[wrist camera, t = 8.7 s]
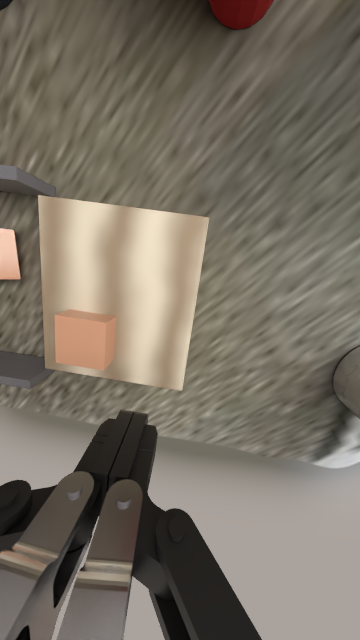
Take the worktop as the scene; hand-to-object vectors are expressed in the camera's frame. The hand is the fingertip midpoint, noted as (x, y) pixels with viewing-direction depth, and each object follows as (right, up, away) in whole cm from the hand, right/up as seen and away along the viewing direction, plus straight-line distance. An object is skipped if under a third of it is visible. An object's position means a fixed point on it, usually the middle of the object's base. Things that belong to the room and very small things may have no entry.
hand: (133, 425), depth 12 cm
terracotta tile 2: (-7, +4, +11) cm, 14 cm away
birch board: (-4, +8, +13) cm, 16 cm away
